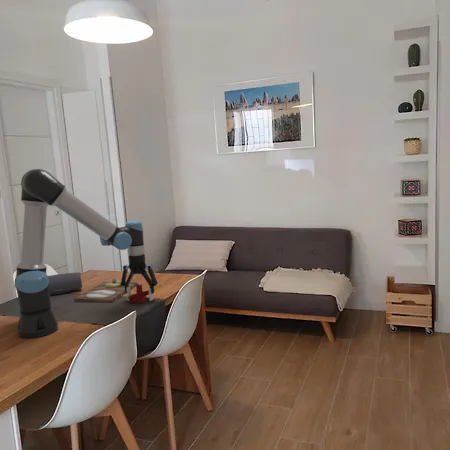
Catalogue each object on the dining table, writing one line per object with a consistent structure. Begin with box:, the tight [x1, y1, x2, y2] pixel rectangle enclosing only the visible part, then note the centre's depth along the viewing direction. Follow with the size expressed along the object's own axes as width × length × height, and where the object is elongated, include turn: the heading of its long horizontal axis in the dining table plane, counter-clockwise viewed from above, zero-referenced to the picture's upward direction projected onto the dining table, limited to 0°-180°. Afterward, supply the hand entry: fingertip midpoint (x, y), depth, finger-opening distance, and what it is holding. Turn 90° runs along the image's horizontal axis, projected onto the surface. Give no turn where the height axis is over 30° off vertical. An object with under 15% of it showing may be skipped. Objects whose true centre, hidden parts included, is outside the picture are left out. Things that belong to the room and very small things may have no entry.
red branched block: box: [127, 283, 149, 304], centre depth 212 cm, size 11×12×8 cm
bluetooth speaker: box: [47, 272, 83, 296], centre depth 233 cm, size 23×9×10 cm, turn 111°
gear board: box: [73, 278, 138, 303], centre depth 229 cm, size 30×20×5 cm, turn 168°
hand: (140, 299), depth 212 cm, fingers closed on red branched block, 10 cm apart
